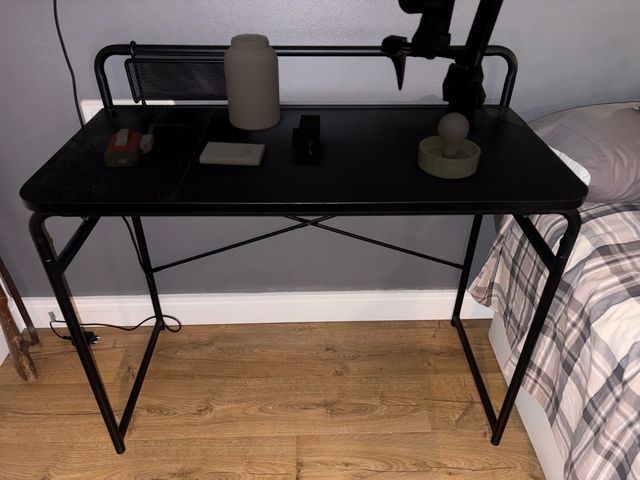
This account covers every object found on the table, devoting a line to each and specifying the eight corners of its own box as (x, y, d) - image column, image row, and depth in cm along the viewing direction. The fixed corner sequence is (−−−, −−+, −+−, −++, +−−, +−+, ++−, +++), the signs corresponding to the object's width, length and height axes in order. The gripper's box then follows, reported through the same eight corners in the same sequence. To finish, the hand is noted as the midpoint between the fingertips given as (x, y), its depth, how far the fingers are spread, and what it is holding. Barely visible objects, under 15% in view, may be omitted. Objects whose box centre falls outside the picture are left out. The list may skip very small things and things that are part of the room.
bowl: (451, 150, 112) (454, 131, 109) (488, 173, 103) (493, 153, 101) (405, 160, 108) (408, 141, 105) (440, 185, 99) (444, 165, 96)
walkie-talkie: (148, 168, 103) (158, 130, 119) (144, 148, 101) (154, 112, 117) (103, 170, 102) (119, 131, 118) (98, 150, 99) (115, 113, 115)
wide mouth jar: (290, 119, 126) (288, 35, 115) (259, 135, 117) (254, 46, 106) (251, 108, 131) (245, 27, 120) (218, 124, 123) (209, 38, 111)
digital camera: (296, 143, 114) (295, 113, 110) (320, 144, 114) (320, 114, 110) (292, 164, 106) (291, 132, 102) (318, 164, 105) (318, 133, 101)
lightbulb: (444, 173, 102) (453, 121, 95) (426, 161, 106) (433, 110, 100) (468, 167, 104) (478, 116, 98) (449, 155, 109) (458, 106, 102)
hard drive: (209, 148, 112) (265, 150, 111) (200, 164, 105) (259, 166, 104) (208, 141, 111) (264, 143, 110) (199, 157, 104) (258, 159, 103)
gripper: (378, 8, 92) (366, 94, 100) (481, 23, 86) (460, 112, 94) (394, 4, 101) (382, 83, 109) (489, 17, 95) (469, 99, 103)
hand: (421, 94), depth 103 cm, fingers open, 9 cm apart
